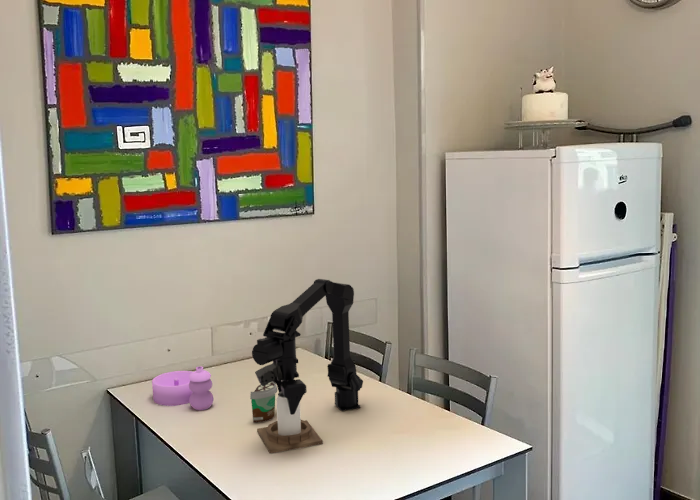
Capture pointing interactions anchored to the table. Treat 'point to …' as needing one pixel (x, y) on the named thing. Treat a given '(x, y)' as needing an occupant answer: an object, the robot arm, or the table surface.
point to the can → (287, 417)
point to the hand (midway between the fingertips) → (288, 408)
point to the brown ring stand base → (288, 438)
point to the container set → (183, 388)
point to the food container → (263, 402)
